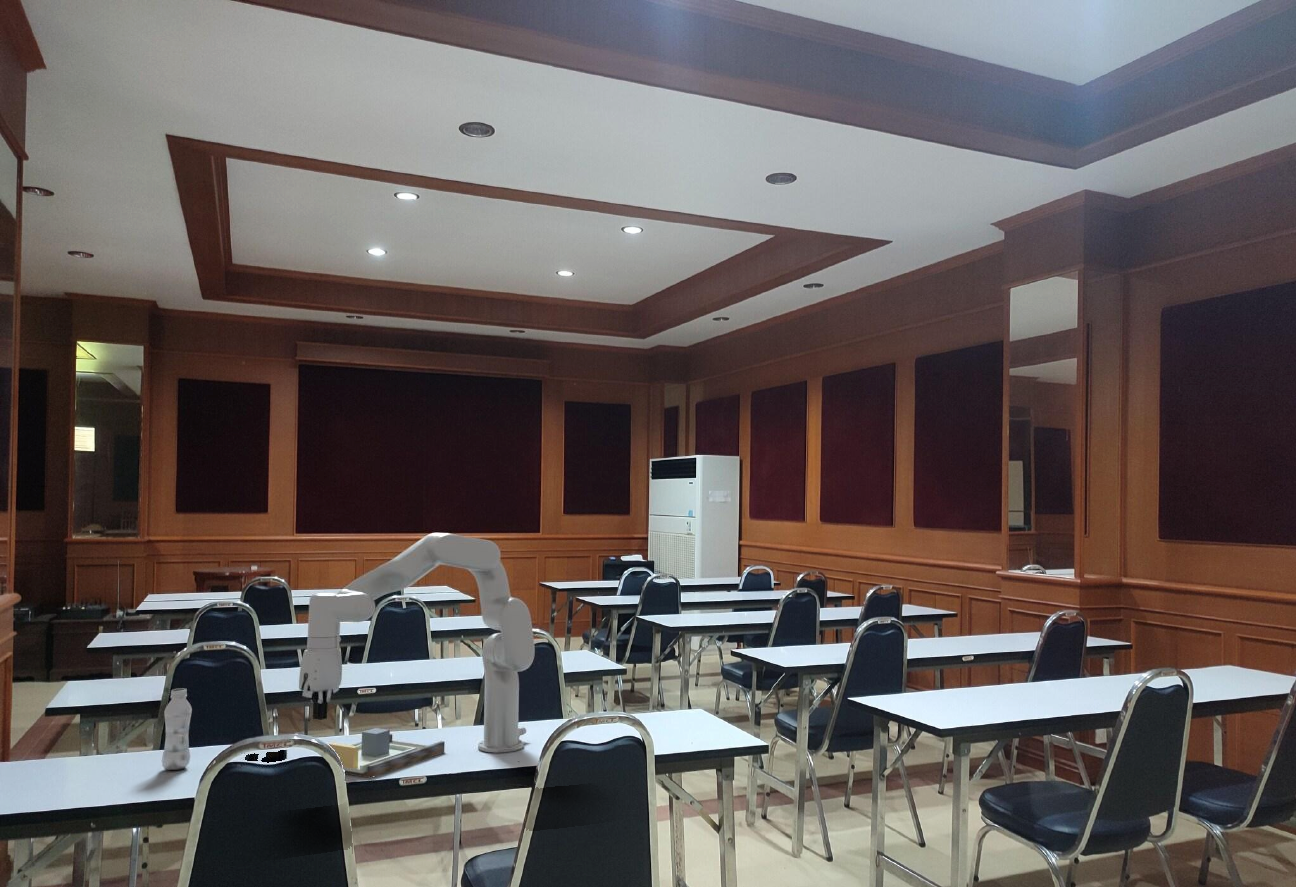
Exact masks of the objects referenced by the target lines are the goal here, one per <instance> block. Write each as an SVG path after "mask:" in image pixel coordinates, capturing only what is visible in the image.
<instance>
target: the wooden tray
mask: <svg viewBox="0 0 1296 887" xmlns="http://www.w3.org/2000/svg"><path fill="white" fill-rule="evenodd" d="M327 743H328V744H329V745H330V746H331V747H332V748H333V749H334V750H335V752H336V753H337V754H338V756H339V757H340V761H341V762H342V765H343V769H344V770H346V771H352V772H357V773H364V772H367V771H368V765H371V764H374V763H377V762H380V761H383V760H386V759H389V758H392V757H395V756H398V755H401V754H404V753H407V752H410V751H413V750H416V749H417V748H415V747H408V746H402V745H395V744H389V753H388V754H385V755H382V756H379V757H370V756H364V755H361V751H362V744H360V745H357V746H352V745H353V744H345V743H338V742H330V741H328V742H327Z"/></svg>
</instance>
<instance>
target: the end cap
mask: <svg viewBox="0 0 1296 887" xmlns="http://www.w3.org/2000/svg"><path fill="white" fill-rule="evenodd" d="M258 755H259V754H255V753H254V754H250V755H249V754H248V755H246V757H245V760H247V761H258V760H257V759H258ZM285 759H287V760H288V749H287V750H280V751H278V752H267V753H266V757H264V758H262V760H261V761H262V762H267V763H269V762H276V761H282V760H285Z"/></svg>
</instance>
